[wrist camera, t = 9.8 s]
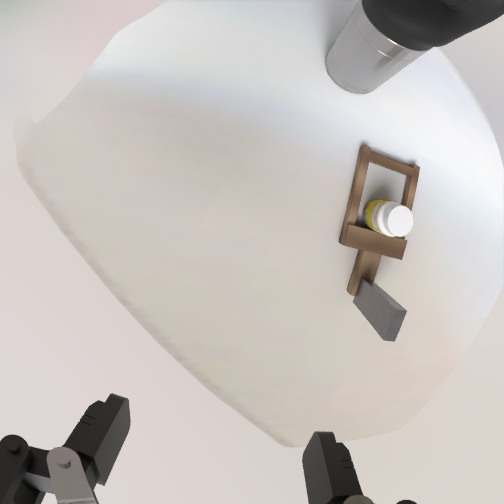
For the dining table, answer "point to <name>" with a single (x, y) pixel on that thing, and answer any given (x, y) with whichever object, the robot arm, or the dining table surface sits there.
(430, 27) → the robot arm
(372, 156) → the strip frame
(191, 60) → the dining table surface
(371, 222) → the supplement bottle
